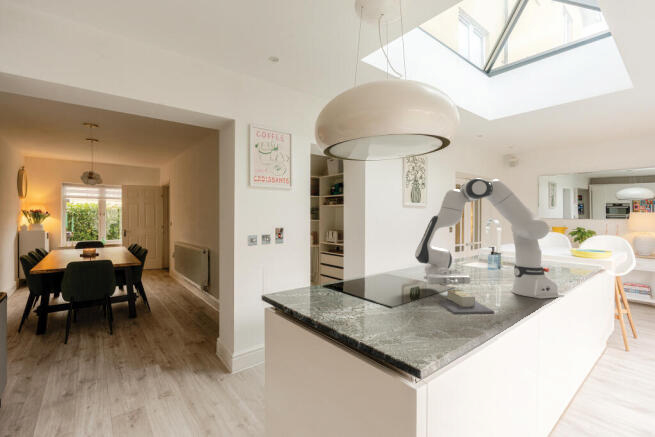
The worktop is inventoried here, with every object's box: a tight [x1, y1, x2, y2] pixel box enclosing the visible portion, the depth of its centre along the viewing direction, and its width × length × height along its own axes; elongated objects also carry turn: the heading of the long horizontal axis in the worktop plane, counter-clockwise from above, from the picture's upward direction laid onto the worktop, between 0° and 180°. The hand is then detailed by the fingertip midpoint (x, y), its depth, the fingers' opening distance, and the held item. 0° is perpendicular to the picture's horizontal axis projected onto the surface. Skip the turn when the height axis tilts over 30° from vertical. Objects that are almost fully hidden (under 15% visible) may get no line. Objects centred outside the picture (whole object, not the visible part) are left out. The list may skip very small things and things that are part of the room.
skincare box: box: [446, 289, 476, 307], centre depth 136 cm, size 6×4×12 cm
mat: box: [437, 299, 495, 315], centre depth 132 cm, size 17×16×1 cm
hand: (455, 282), depth 139 cm, fingers closed
